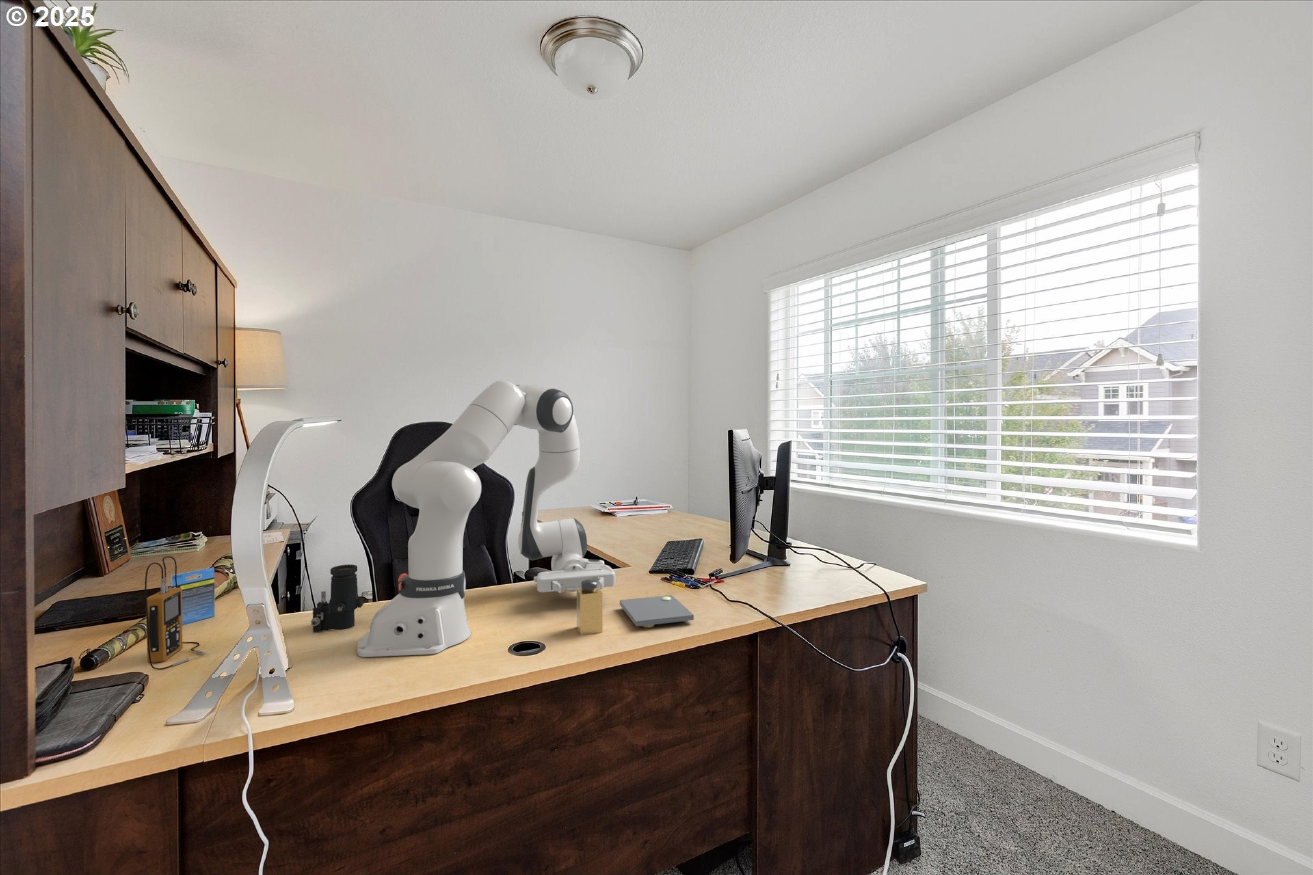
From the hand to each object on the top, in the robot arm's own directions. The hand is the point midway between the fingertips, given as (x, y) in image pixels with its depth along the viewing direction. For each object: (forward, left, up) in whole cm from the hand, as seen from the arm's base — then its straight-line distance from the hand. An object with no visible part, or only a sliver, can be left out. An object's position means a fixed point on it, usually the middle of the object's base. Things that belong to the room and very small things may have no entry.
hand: (580, 587), depth 138 cm
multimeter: (-81, 0, -7) cm, 81 cm away
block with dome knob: (0, -11, -7) cm, 13 cm away
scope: (-55, +8, -7) cm, 56 cm away
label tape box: (-90, +23, -7) cm, 93 cm away
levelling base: (+17, -7, -7) cm, 20 cm away
